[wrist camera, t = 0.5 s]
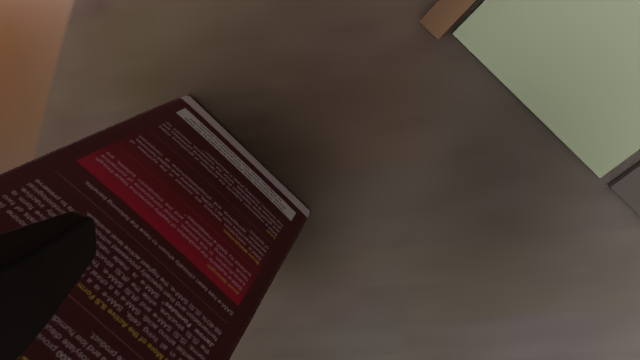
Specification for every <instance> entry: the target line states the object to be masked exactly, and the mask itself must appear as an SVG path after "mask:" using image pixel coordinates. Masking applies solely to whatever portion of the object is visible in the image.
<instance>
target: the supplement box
mask: <svg viewBox="0 0 640 360" xmlns="http://www.w3.org/2000/svg"><path fill="white" fill-rule="evenodd" d="M70 211H76V212H79V213H81V214H84V215H87V216H89V217H91V218H93V220H94V222H95V231H96V246H97V249H96V254H95V257H94V259H93V261H92V262H91V264H90V265H89V266H88V268H87V269H86V271H85V272H84V273H83V275H82V276H81V278H80V279H79V280H78V282H77V283H76V285H75V286H74V287H73V289H72V290H71V292H70V293H69V294H68V296H67V297H66V299H65V300H64V301H63V303H62V304H61V306H60V307H59V308H58V310H57V311H56V313H55V314H54V315H53V317H52V318H51V319H50V321H49V322H48V323H47V325H46V326H45V327H44V328H43V330H42V331H41V332H40V333H39V334H38V336H37V337H36V338H35V339H34V340H33V341H32V343H31V344H30V345H29V346H28V347H27V348H26V349H25V351H24V352H23V353H22V354H21V355H20V356H19V357H18V358H17V360H229V359H230V357H231V355H232V353H233V352H234V350H235V348H236V346H237V344H238V343H239V341H240V339H241V337H242V336H243V334H244V332H245V330H246V329H247V327H248V325H249V323H250V321H251V319H252V318H253V316H254V314H255V312H256V310H257V308H258V306H259V305H260V303H261V301H262V299H263V297H264V295H265V294H266V292H267V290H268V288H269V287H270V285H271V283H272V281H273V279H274V277H275V276H276V274H277V272H278V270H279V269H280V267H281V265H282V263H283V262H284V260H285V258H286V256H287V254H288V252H289V251H290V249H291V248H292V246H293V244H294V242H295V240H296V239H297V237H298V235H299V233H300V231H301V230H302V228H303V226H304V223H305V221H306V220H307V218H308V216H309V214H310V211H309V210H308V209H307V208H306V207H305V206H304V205H303V204H302V203H301V202H300V201H299V200H298V199H297V198H296V197H295V196H294V195H293V194H292V193H291V192H290V191H289V190H288V189H286V188H285V187H284V186H283V185H282V184H281V183H280V182H279V181H278V180H277V179H276V178H275V177H274V176H273V175H272V174H271V173H270V172H269V171H268V170H267V169H266V168H264V167H263V166H262V165H261V164H260V163H259V162H258V161H257V160H256V159H255V158H254V157H253V156H252V155H251V154H250V153H249V152H248V151H247V150H246V149H245V148H244V147H243V146H241V145H240V144H239V143H238V142H237V141H236V140H235V139H234V138H233V137H232V136H231V135H230V134H229V133H228V132H227V131H226V130H225V129H224V128H223V127H222V126H221V125H220V124H219V123H218V122H216V121H215V120H214V119H213V118H212V117H211V116H210V115H209V114H208V113H207V112H206V111H205V110H204V109H203V108H202V107H201V106H200V105H199V104H198V103H196V102H195V101H194V100H193V99H192V98H191V97H190V96H188V95H186V96H183V97H180V98H177V99H175V100H172V101H169V102H167V103H165V104H163V105H160V106H157V107H155V108H153V109H151V110H148V111H146V112H143V113H141V114H138V115H136V116H134V117H132V118H129V119H128V120H125V121H122V122H120V123H118V124H115V125H113V126H111V127H108V128H106V129H104V130H102V131H99V132H97V133H94V134H92V135H90V136H87V137H85V138H83V139H81V140H79V141H76V142H74V143H71V144H69V145H67V146H65V147H62V148H59V149H57V150H55V151H53V152H51V153H48V154H46V155H44V156H42V157H39V158H37V159H34V160H32V161H30V162H27V163H25V164H23V165H21V166H19V167H16V168H14V169H12V170H9V171H7V172H5V173H3V174H0V234H1V233H4V232H7V231H10V230H14V229H17V228H20V227H23V226H26V225H29V224H32V223H35V222H38V221H41V220H44V219H47V218H51V217H54V216H57V215H60V214H63V213H66V212H70Z"/></svg>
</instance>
